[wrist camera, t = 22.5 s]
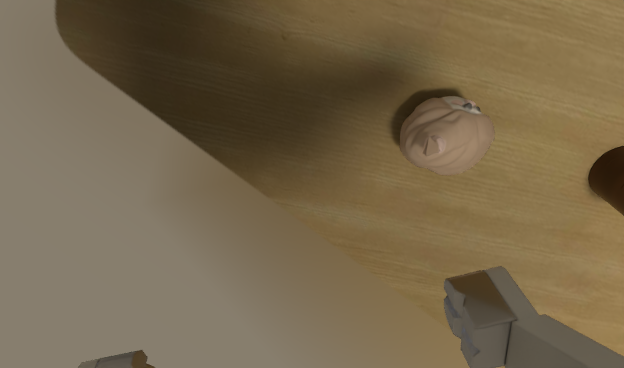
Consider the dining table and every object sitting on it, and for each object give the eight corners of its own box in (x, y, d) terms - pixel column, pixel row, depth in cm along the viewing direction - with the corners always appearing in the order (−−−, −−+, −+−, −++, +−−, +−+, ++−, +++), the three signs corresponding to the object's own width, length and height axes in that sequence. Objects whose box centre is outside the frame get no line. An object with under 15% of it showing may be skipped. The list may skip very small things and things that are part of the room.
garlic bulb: (445, 67, 33) (483, 99, 26) (489, 123, 35) (535, 165, 28) (380, 122, 35) (399, 165, 28) (425, 171, 38) (453, 222, 31)
